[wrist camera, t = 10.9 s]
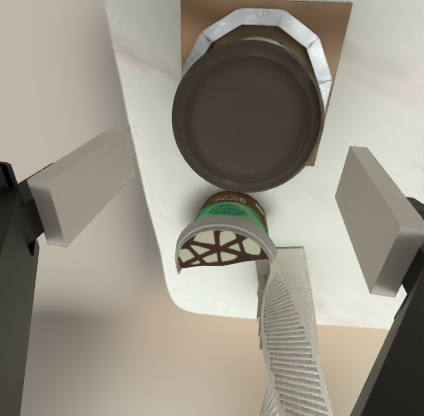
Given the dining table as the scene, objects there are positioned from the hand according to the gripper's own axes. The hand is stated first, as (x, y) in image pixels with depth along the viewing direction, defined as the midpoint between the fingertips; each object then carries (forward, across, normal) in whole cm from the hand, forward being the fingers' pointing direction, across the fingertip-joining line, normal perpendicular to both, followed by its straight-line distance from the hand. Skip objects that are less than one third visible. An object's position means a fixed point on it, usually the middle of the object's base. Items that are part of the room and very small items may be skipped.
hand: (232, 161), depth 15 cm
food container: (+21, -2, -15) cm, 26 cm away
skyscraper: (+21, +7, -24) cm, 33 cm away
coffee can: (+20, 0, 0) cm, 20 cm away
